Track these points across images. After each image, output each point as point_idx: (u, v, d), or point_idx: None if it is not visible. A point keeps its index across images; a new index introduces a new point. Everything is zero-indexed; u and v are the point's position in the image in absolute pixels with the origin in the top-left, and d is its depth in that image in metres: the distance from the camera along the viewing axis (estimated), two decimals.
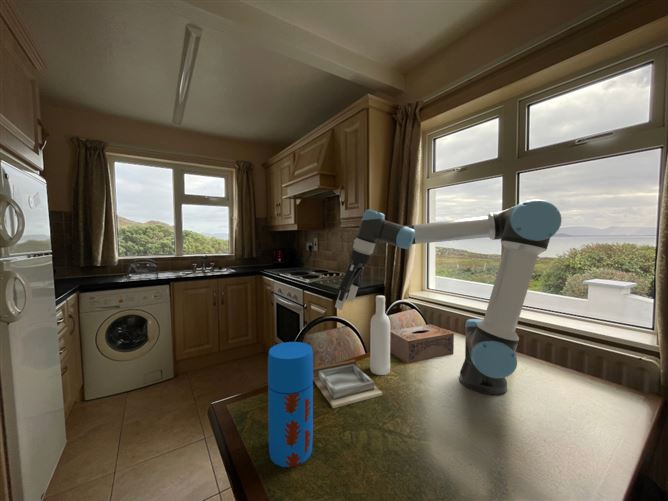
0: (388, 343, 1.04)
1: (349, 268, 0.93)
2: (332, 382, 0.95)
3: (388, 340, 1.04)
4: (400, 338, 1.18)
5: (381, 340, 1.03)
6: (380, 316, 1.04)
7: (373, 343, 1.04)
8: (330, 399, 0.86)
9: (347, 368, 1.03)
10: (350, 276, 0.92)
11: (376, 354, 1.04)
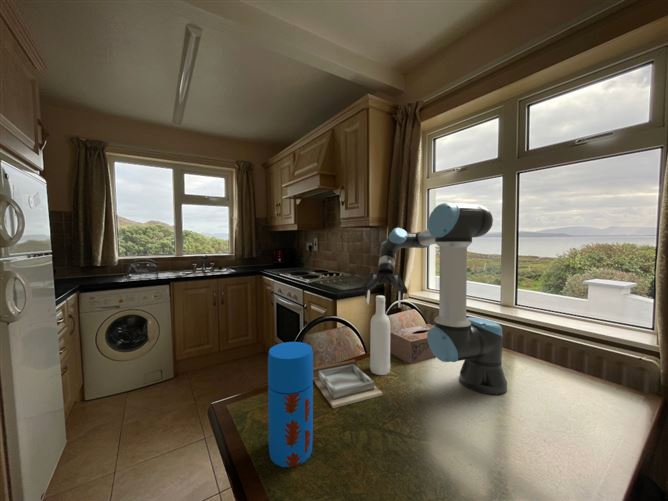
0: (388, 343, 1.04)
1: None
2: (332, 382, 0.95)
3: (388, 340, 1.04)
4: (402, 339, 1.17)
5: (381, 340, 1.03)
6: (380, 316, 1.04)
7: (373, 343, 1.04)
8: (330, 399, 0.86)
9: (347, 368, 1.03)
10: None
11: (376, 354, 1.04)
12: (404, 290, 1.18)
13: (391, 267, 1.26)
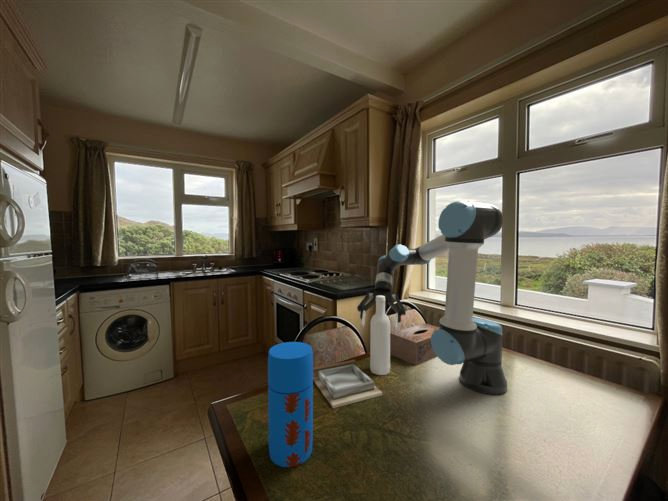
0: (388, 343, 1.04)
1: None
2: (332, 382, 0.95)
3: (388, 340, 1.04)
4: (406, 340, 1.15)
5: (381, 340, 1.03)
6: (380, 316, 1.04)
7: (373, 343, 1.04)
8: (330, 399, 0.86)
9: (347, 368, 1.03)
10: None
11: (376, 354, 1.04)
12: (402, 311, 1.10)
13: (388, 285, 1.18)
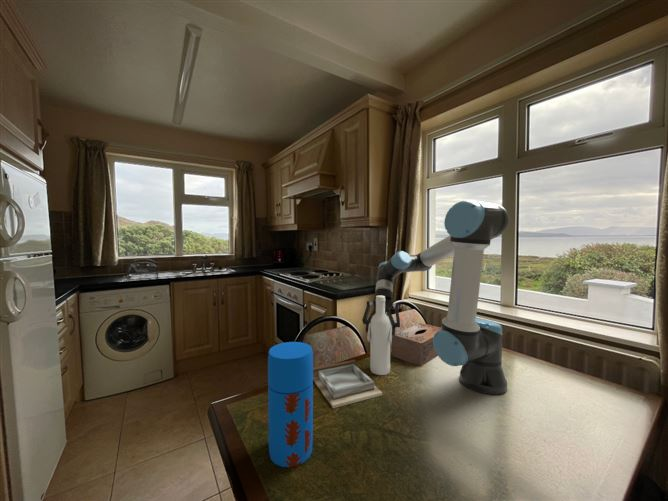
0: (388, 343, 1.04)
1: None
2: (332, 382, 0.95)
3: (388, 340, 1.04)
4: (410, 341, 1.14)
5: (381, 340, 1.03)
6: (380, 316, 1.04)
7: (373, 343, 1.04)
8: (330, 399, 0.86)
9: (347, 368, 1.03)
10: None
11: (376, 354, 1.04)
12: (396, 323, 1.06)
13: (389, 293, 1.14)
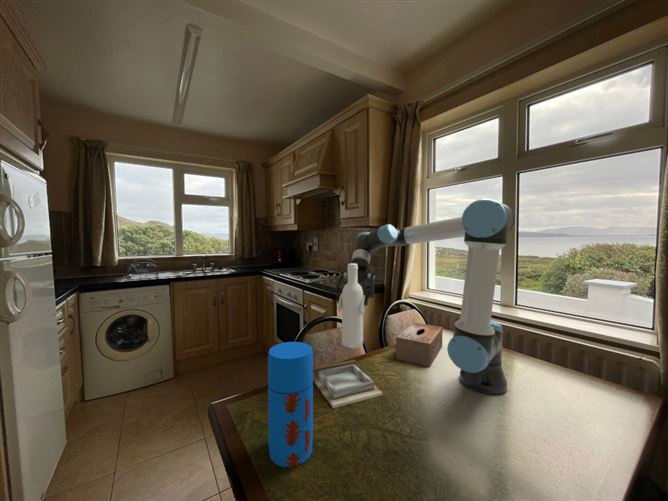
0: (360, 314, 0.97)
1: None
2: (332, 382, 0.95)
3: None
4: (417, 342, 1.13)
5: (352, 310, 0.95)
6: (351, 285, 0.97)
7: (344, 314, 0.97)
8: (330, 399, 0.86)
9: (347, 368, 1.03)
10: None
11: (347, 325, 0.96)
12: (370, 293, 0.98)
13: (364, 263, 1.07)
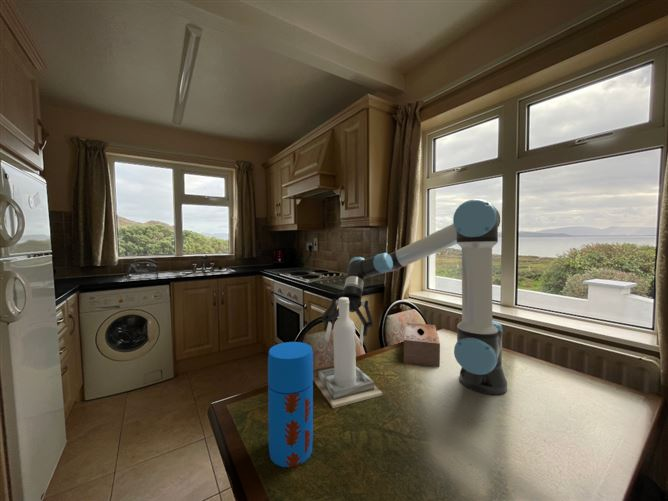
0: (353, 351, 0.92)
1: None
2: (332, 382, 0.95)
3: (352, 348, 0.92)
4: (426, 343, 1.12)
5: (344, 348, 0.91)
6: (342, 321, 0.92)
7: (336, 351, 0.92)
8: (330, 399, 0.86)
9: None
10: None
11: (339, 363, 0.92)
12: (369, 323, 0.94)
13: (358, 291, 1.03)
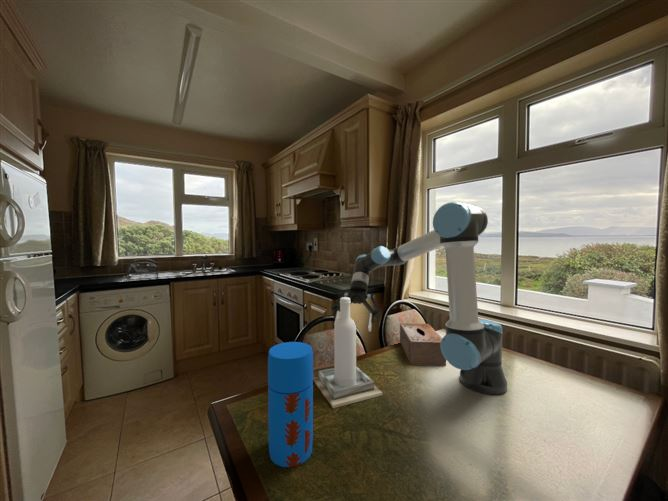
0: (353, 351, 0.92)
1: None
2: (332, 382, 0.95)
3: (353, 348, 0.92)
4: (433, 343, 1.12)
5: (344, 348, 0.91)
6: (344, 321, 0.92)
7: (336, 351, 0.93)
8: (330, 399, 0.86)
9: None
10: None
11: (339, 363, 0.92)
12: (376, 312, 1.07)
13: (364, 285, 1.15)
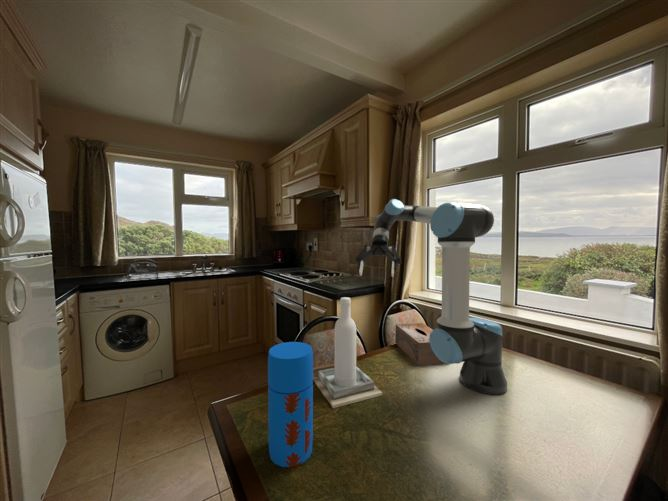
0: (353, 351, 0.92)
1: None
2: (332, 382, 0.95)
3: (353, 348, 0.92)
4: None
5: (345, 348, 0.91)
6: (344, 321, 0.92)
7: (336, 351, 0.93)
8: (330, 399, 0.86)
9: None
10: None
11: (339, 363, 0.92)
12: (398, 260, 1.16)
13: (385, 238, 1.24)
